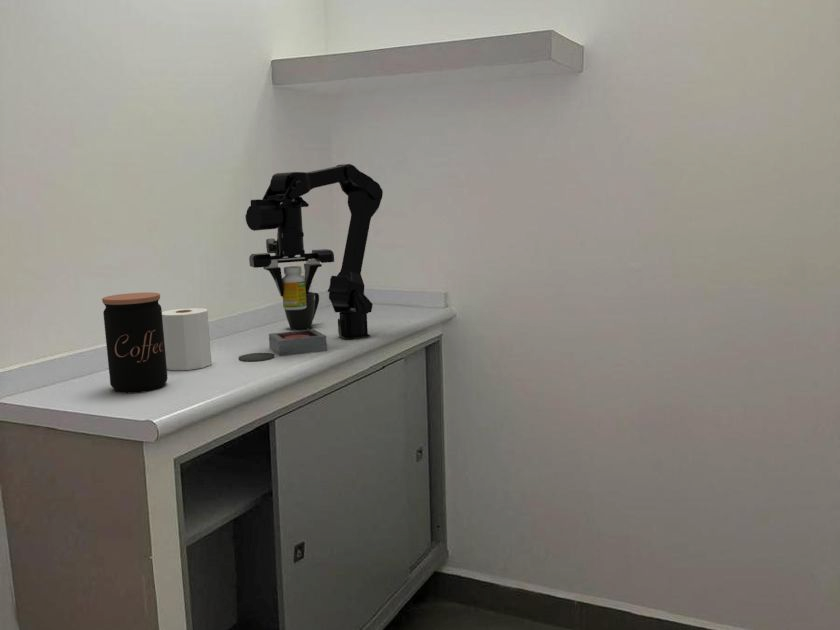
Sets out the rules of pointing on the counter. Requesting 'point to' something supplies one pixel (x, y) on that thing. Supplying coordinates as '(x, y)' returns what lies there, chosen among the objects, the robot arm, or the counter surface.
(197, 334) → the toilet paper
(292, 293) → the supplement bottle
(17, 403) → the counter surface
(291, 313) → the mug
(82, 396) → the counter surface
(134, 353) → the coffee jar
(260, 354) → the coaster
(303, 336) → the button
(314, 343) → the grey square tray
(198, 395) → the counter surface
